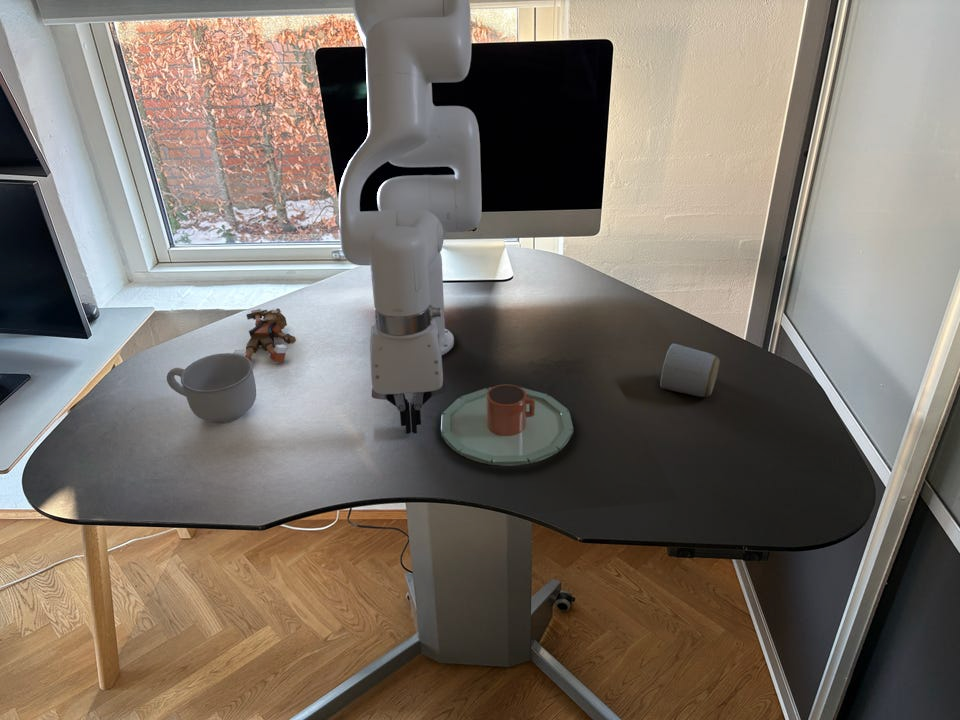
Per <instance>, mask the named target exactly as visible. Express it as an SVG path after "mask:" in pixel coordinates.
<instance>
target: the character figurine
mask: <svg viewBox="0 0 960 720" xmlns="http://www.w3.org/2000/svg"><path fill="white" fill-rule="evenodd" d="M245 316H246V318H247V320H248V321H249V320H253V321H254V320H255V324H254V325H255V326H254V327H253V328H252V329H249V330H248V333H249V336H250V339H249V340H248V342H247V344H246V346H245V349H235V350H234V351H233V354H239V355H242V356H244V357H246V358H248V359H249V360H250V361H251V362H252V356H253V355H254V354H257V352H258V351H259V349H260V346H261V348H262V349H263V350H264V351H265V352H267V353H268V354H269V358H270V360H272V361H273V362H274V364H275V363H277V364H278V363H279V364H280V363H284V362H285V359H286V358H285V357H286V354H287V350H288V347H287V346H286V345H285V344H275V339H281V340H283V342H284V343H286V344H287V345H290V344H295V342H297V339H296V336H294V335H292V334H290V333H286V334H285V333H284V332H282V331H283V330H284V329H285V327H286V326H288V323H287V319H286V318H287V317H286V316H284V314H282V311H281V310H280V308H278V307H277V308H276V309H269V310H268V309H260V308H258V309H253V310H251V312H250V313H246V315H245Z"/></svg>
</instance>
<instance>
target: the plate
mask: <svg viewBox="0 0 960 720" xmlns="http://www.w3.org/2000/svg"><path fill="white" fill-rule="evenodd" d="M491 388H492V387H487V388H486V387H485V388H483V389H482V388H481V389H479V390H476V391H473V392H470V393H467V394H464V395H461V396H460V397H458V398H456V399H455V400H454V401H453V402H452V403H451V404H450V405H449V406H447V408H446V409H444V411H443V412H442V413H441V420H440V422H441V423H440V436H441V438H442V439H443V440H444V442H445V443H446V444H447V445H448V447H450V448H451V449H452V451H454V452H456V453H457V455H459V456H461V457H465V458H467V459H469V460H472V461H475V462H478V463H482V464H487V465H489V466H490V465H492V466H509V467H510V466H521V465H529V464H533V463H537V462H540V461H543V460H545V459H547V458H549V457H552V456H553V455H555V454H557V453H559V452H560V451H562V449H563V448H564V447H565V446H566V445H567V444H568V443H569V441H570V439H571V437H572V436H573V435H574V425H573V420H572V416H571V412H570V410H569V409H568V408H567V407H566V406H564V405H563V404H562V403H560V402H559V401H558V400H557V399H555V398H554V397H552V396H551V395H549V394H548V393H543V392H539V391H536V390H533V389H528V388H526V387H521V388H522V389H524V390H525V392H526V394H527V398H532V399H534V400H535V414H534V416H532V417H526V428H525V429H524V430H523V431H522V432H521V433H519V434H516V435H512V436H501V435H497V434H494V433H492V432H491V431H490V430H489V429H488V428H487V405H486V394H487V392H488V390H489V389H491ZM526 412H529V404H527V406H526Z"/></svg>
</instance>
